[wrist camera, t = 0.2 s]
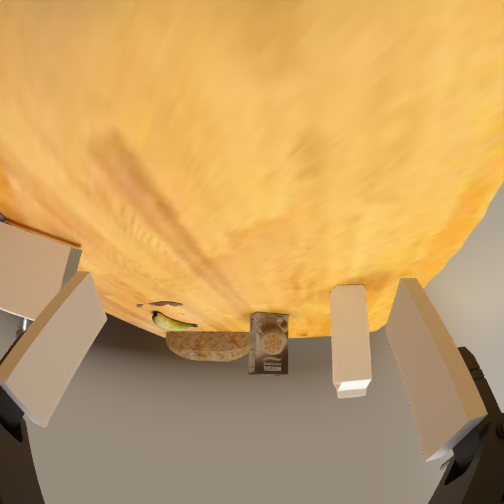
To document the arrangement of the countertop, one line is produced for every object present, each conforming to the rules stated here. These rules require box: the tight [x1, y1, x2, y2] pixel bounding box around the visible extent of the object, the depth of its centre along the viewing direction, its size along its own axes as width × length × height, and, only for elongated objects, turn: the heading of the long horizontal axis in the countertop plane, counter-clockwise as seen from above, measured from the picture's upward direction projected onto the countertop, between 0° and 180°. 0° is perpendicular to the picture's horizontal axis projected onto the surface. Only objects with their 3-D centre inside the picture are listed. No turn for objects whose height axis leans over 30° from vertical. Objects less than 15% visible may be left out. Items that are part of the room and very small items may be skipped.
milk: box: [329, 285, 371, 398], centre depth 53 cm, size 6×6×22 cm
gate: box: [0, 221, 82, 321], centre depth 33 cm, size 19×2×17 cm, turn 51°
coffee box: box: [248, 312, 288, 376], centre depth 74 cm, size 9×6×16 cm
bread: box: [166, 331, 250, 361], centre depth 104 cm, size 36×11×10 cm, turn 104°
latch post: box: [16, 316, 29, 338], centre depth 43 cm, size 4×4×18 cm
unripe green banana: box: [137, 302, 198, 331], centre depth 84 cm, size 35×27×4 cm
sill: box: [0, 213, 8, 224], centre depth 39 cm, size 20×5×1 cm, turn 6°
